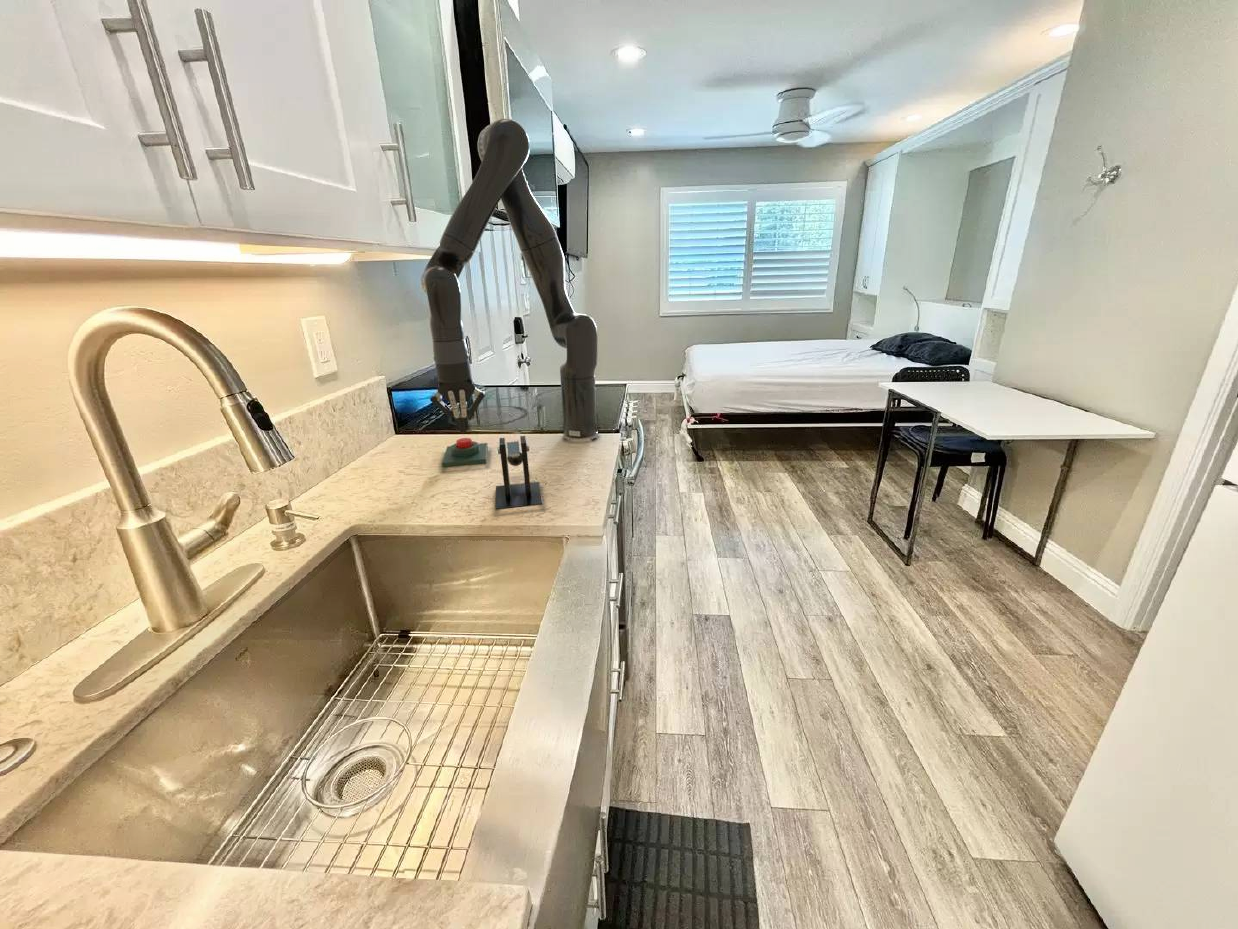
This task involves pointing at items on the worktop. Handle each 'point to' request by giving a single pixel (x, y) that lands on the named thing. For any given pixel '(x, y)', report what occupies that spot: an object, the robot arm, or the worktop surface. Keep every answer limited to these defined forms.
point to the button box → (465, 455)
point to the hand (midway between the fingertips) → (463, 431)
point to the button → (464, 443)
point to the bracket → (516, 492)
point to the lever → (514, 453)
